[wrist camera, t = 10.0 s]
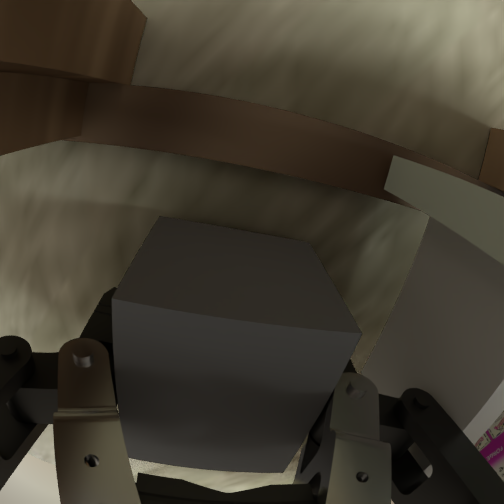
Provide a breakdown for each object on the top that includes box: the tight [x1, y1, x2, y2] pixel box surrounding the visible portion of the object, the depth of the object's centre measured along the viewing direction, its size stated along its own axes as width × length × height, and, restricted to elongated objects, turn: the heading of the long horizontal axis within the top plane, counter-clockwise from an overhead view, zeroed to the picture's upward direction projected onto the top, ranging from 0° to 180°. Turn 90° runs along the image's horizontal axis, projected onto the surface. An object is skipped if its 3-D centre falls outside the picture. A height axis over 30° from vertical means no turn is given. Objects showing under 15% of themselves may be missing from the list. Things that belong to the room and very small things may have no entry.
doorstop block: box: [112, 216, 362, 473], centre depth 9 cm, size 5×6×5 cm
